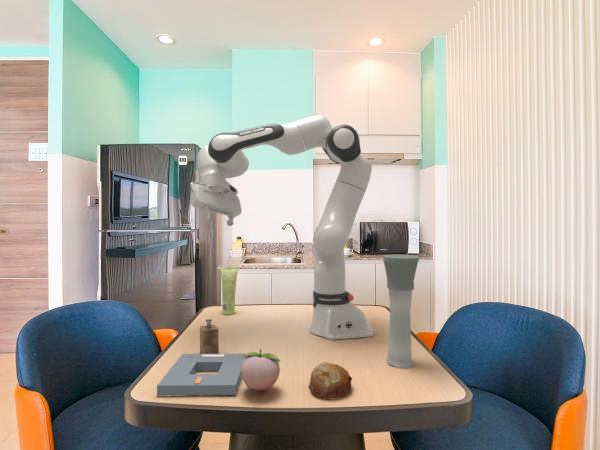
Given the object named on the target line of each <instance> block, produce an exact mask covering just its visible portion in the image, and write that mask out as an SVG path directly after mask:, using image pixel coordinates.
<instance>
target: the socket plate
mask: <svg viewBox="0 0 600 450" xmlns="http://www.w3.org/2000/svg"><path fill="white" fill-rule="evenodd" d="M246 353H247V352H246ZM246 353H245V352H244V353H241V352H240V353H219V354H201V353H182V354H181V355H180V356H179V358H178V359H177V360H176V361H175V363H174V364H173V365H172V366H171V367H170V369H169V370H168V371H167V373H166V374H165V375H164V376H163V377H162V379H161V380H160V381H159V382H158V383H157V385H156V396H157V395H236V396H237V394H236V393H238V391H239V388H238V387H240V385H239V384H241V381H242V375H241V367H242V363H243V361H244V359H245V358H246V357H247V356H245V357H242V356H243V355H244V354H246ZM241 357H242V358H241ZM197 372H217V373H202V374H201V373H200V374H199V373H197ZM237 390H238V391H237Z"/></svg>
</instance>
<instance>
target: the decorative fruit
mask: <svg viewBox="0 0 600 450" xmlns="http://www.w3.org/2000/svg"><path fill="white" fill-rule="evenodd" d="M245 356H247V357H246V358H245V359H244V361H243V363H242V367H241V375H242V378H241V380H243V382H244V384H245V386H247V387H248V388H249V389H251V390H254V391H258V392H260V391H261V392H262V391H266V390H268V389H270V388H272V387H273V386H274V385H275V383H276V382H277V381H278V379H279V376H280V373H281V372H280V371H281V366H280V363H279V362H281V360H280V358H279V357H278V356H277V355H275V354H273V353H270V352H265V353H262V349H260V348H259V353H258V352H256V351H250V352H246V354H244V355H243V356H242V357H245ZM242 357H241V358H242Z"/></svg>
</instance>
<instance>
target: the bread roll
mask: <svg viewBox="0 0 600 450" xmlns="http://www.w3.org/2000/svg"><path fill="white" fill-rule="evenodd" d="M310 373H311V374H310V378H309V384H308V385H307V386H308V388H309V390H310V391H311V393H312V394H313V395H314V396H315V397H316V396H317V397H316V398H319V397H320V398H319V399H323V398H326V399H325V400H333V399H332V398H335V399H338V398H337V397H340V398H343V397H342V396H344V397H346V396H347V395H348V394H350V392H351V389H352V380H353V377H352V376H351V375H350V373H349V372H348V370H347V369H345V367H343V366H341V365H338V364H336V363H331V362H328V361H324V362H320V363H319V364H318V365H316V366H315V367H314V368H313V370H312V371H311V372H310ZM346 394H347V395H346ZM330 398H331V399H330Z"/></svg>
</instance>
